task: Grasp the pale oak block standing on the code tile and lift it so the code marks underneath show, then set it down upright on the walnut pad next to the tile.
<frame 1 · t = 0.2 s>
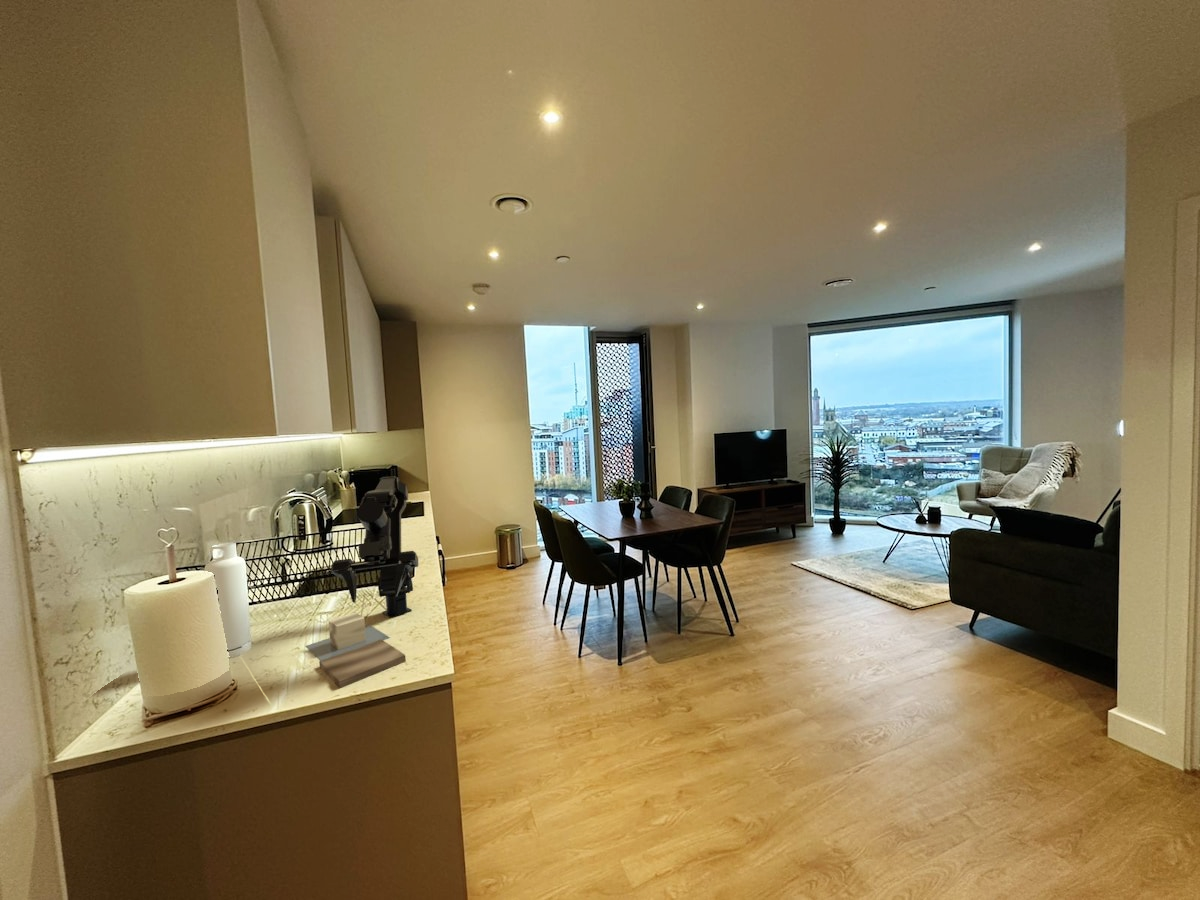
hand: (375, 599, 106), 15 cm above the counter, tool tilted 30°, fingers open, 9 cm apart
oak block: (348, 641, 116), resting on code tile
walnut pad: (362, 664, 104), on the counter
code tile: (348, 642, 116), on the counter
bottle: (231, 652, 114), on the counter
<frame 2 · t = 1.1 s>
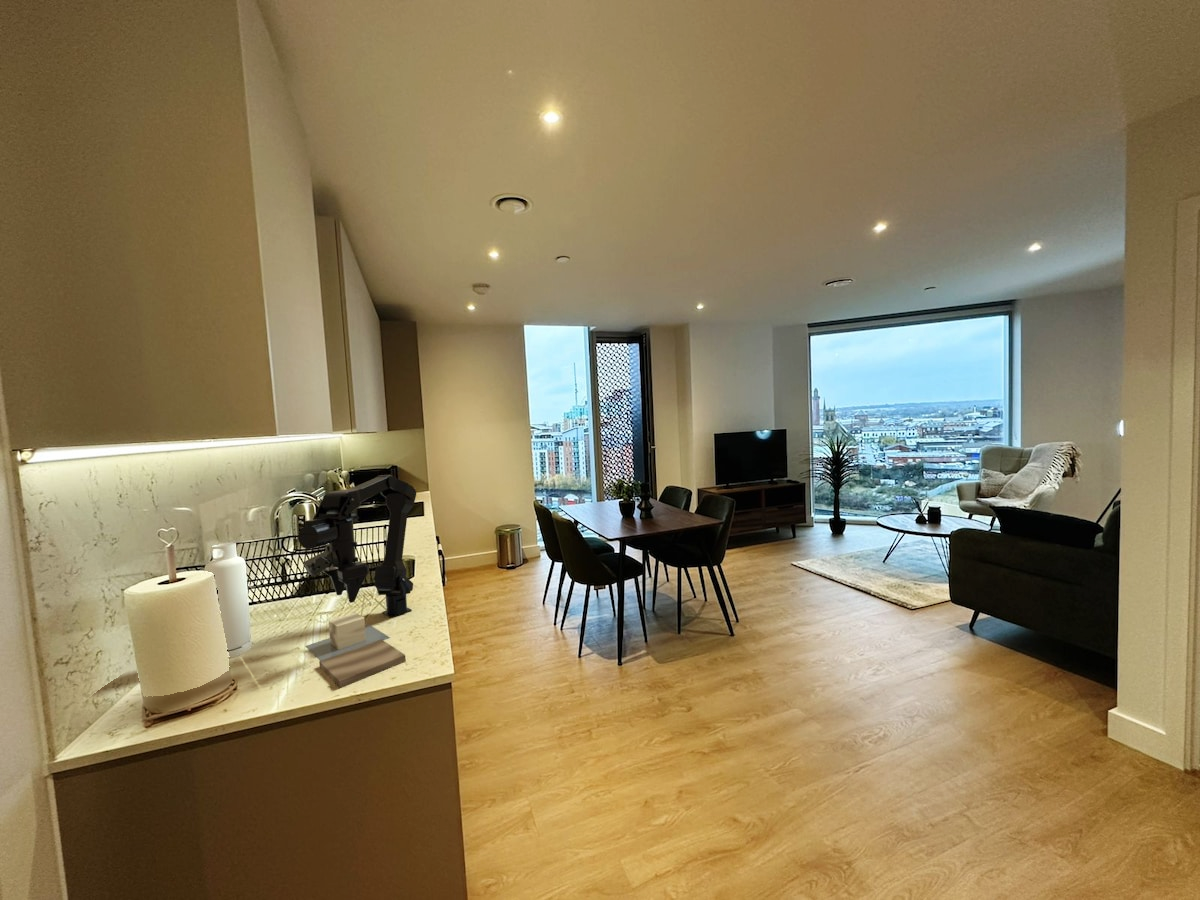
hand: (345, 598, 116), 12 cm above the counter, tool pointing down, fingers open, 9 cm apart
nothing on the counter moved.
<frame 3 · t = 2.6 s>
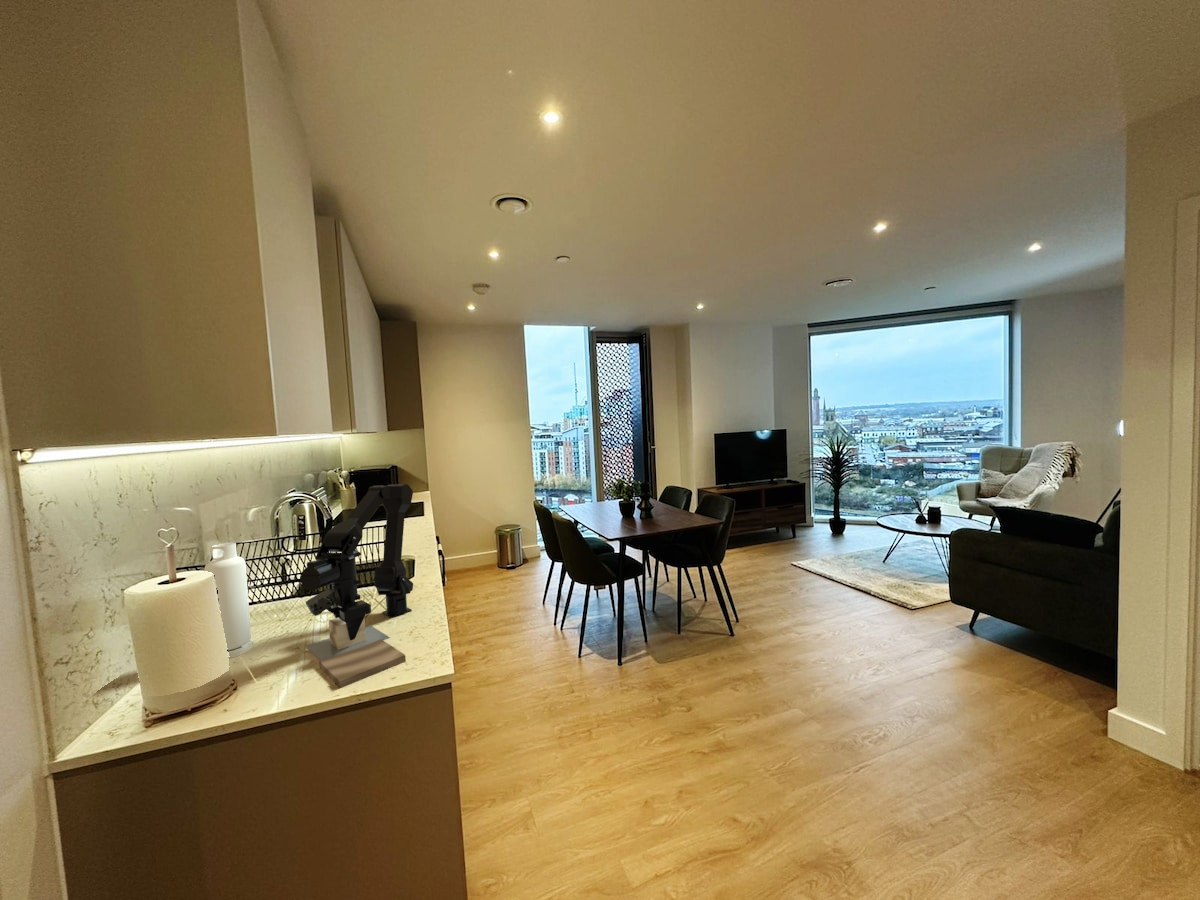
hand: (347, 636, 116), 2 cm above the counter, tool pointing down, fingers closed on oak block, 6 cm apart
oak block: (348, 641, 116), resting on code tile, touching gripper
everything else where it was.
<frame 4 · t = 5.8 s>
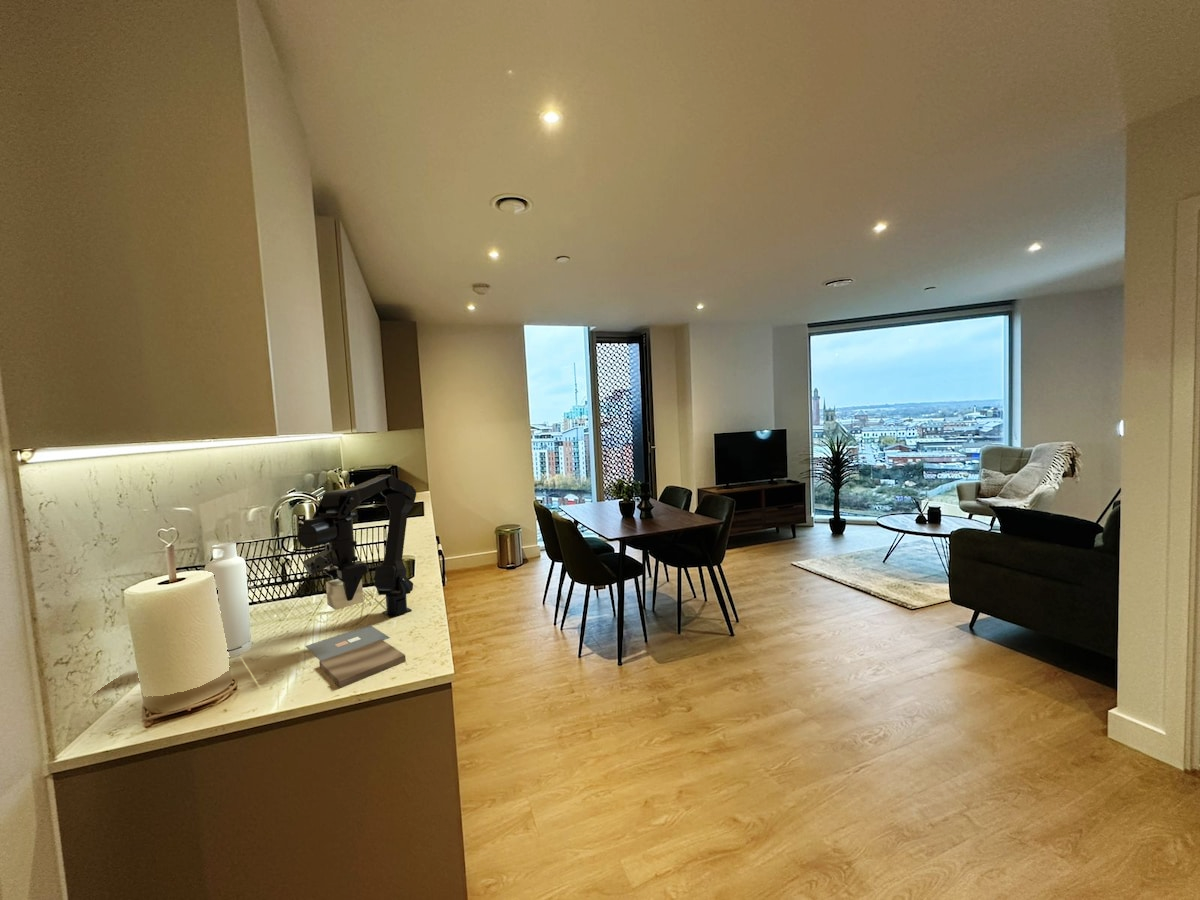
hand: (345, 597, 116), 12 cm above the counter, tool pointing down, fingers closed on oak block, 6 cm apart
oak block: (345, 603, 116), point 10 cm above the counter, touching gripper
everything else where it was.
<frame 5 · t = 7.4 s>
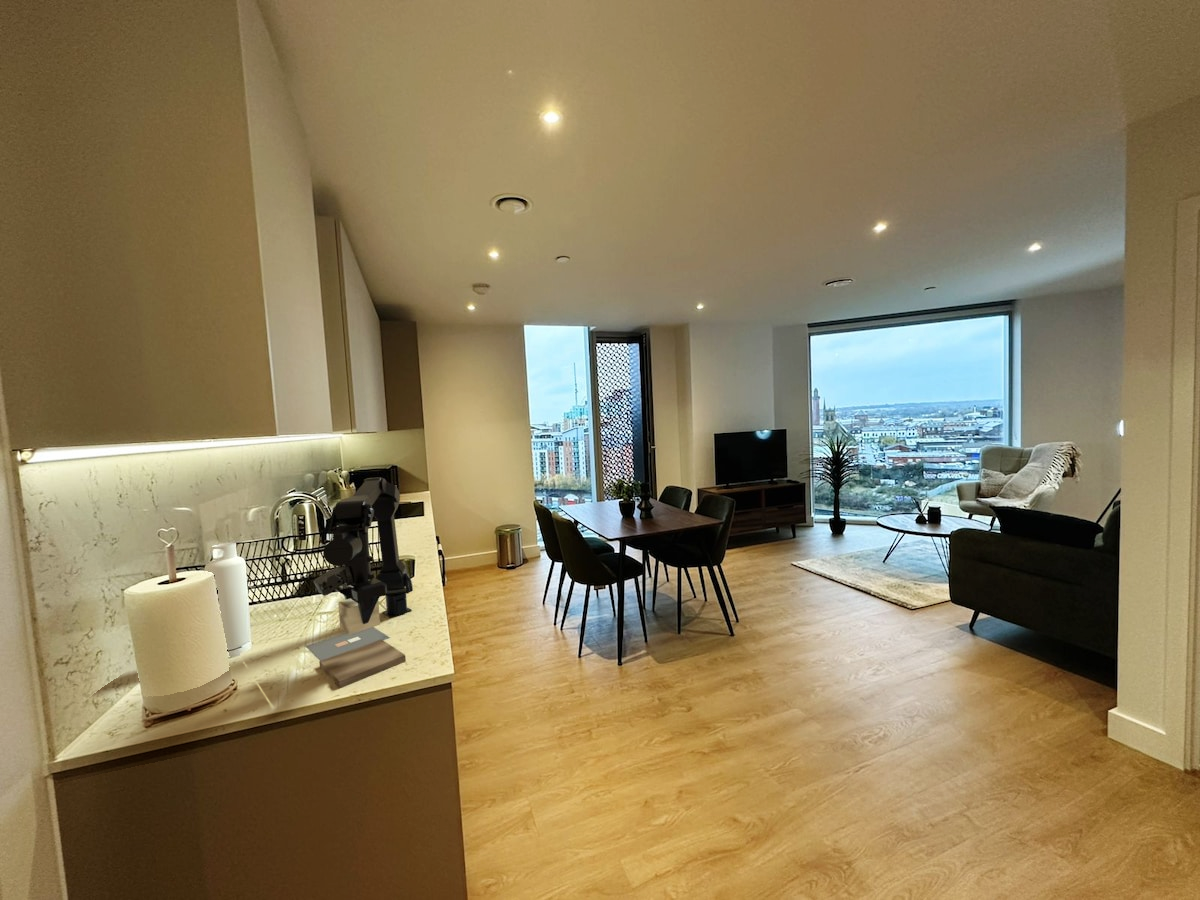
hand: (360, 619, 103), 11 cm above the counter, tool pointing down, fingers closed on oak block, 6 cm apart
oak block: (360, 625, 103), point 9 cm above the counter, touching gripper
everything else where it was.
when the fingers open (4 cm above the counter, at t = 8.9 s): oak block drops 2 cm, resting on walnut pad.
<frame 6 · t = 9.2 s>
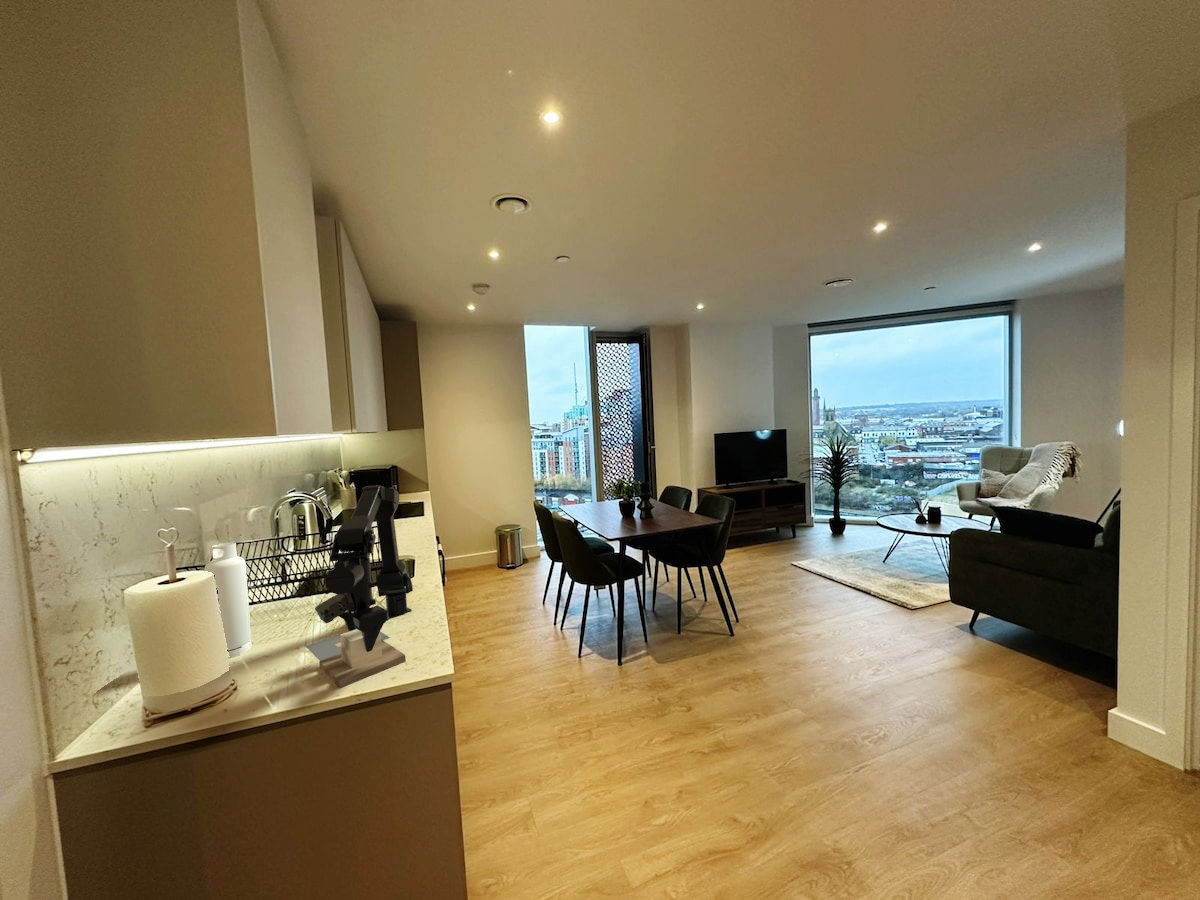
hand: (361, 645, 104), 4 cm above the counter, tool pointing down, fingers open, 9 cm apart
oak block: (362, 658, 104), point 1 cm above the counter, touching walnut pad
everything else where it was.
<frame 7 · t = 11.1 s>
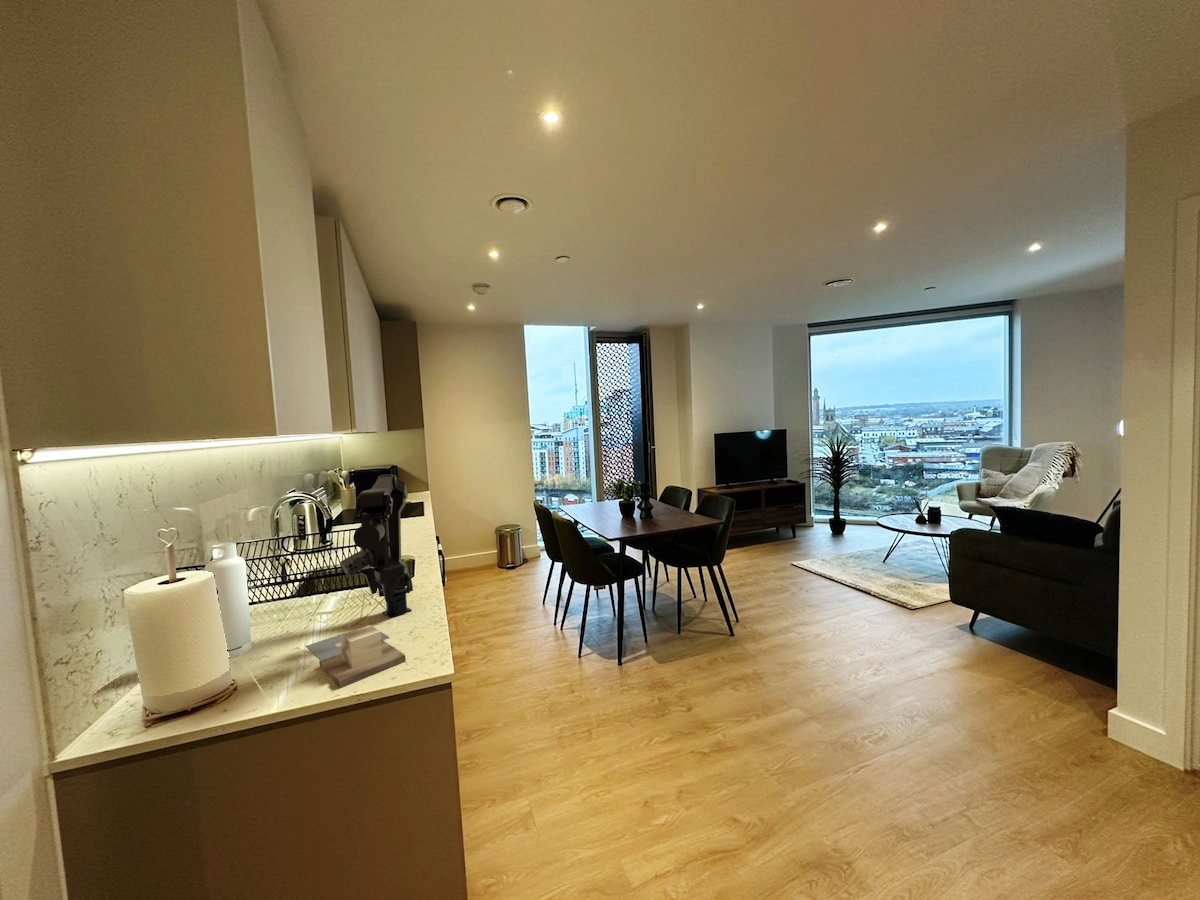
hand: (381, 597, 116), 11 cm above the counter, tool pointing down, fingers open, 9 cm apart
nothing on the counter moved.
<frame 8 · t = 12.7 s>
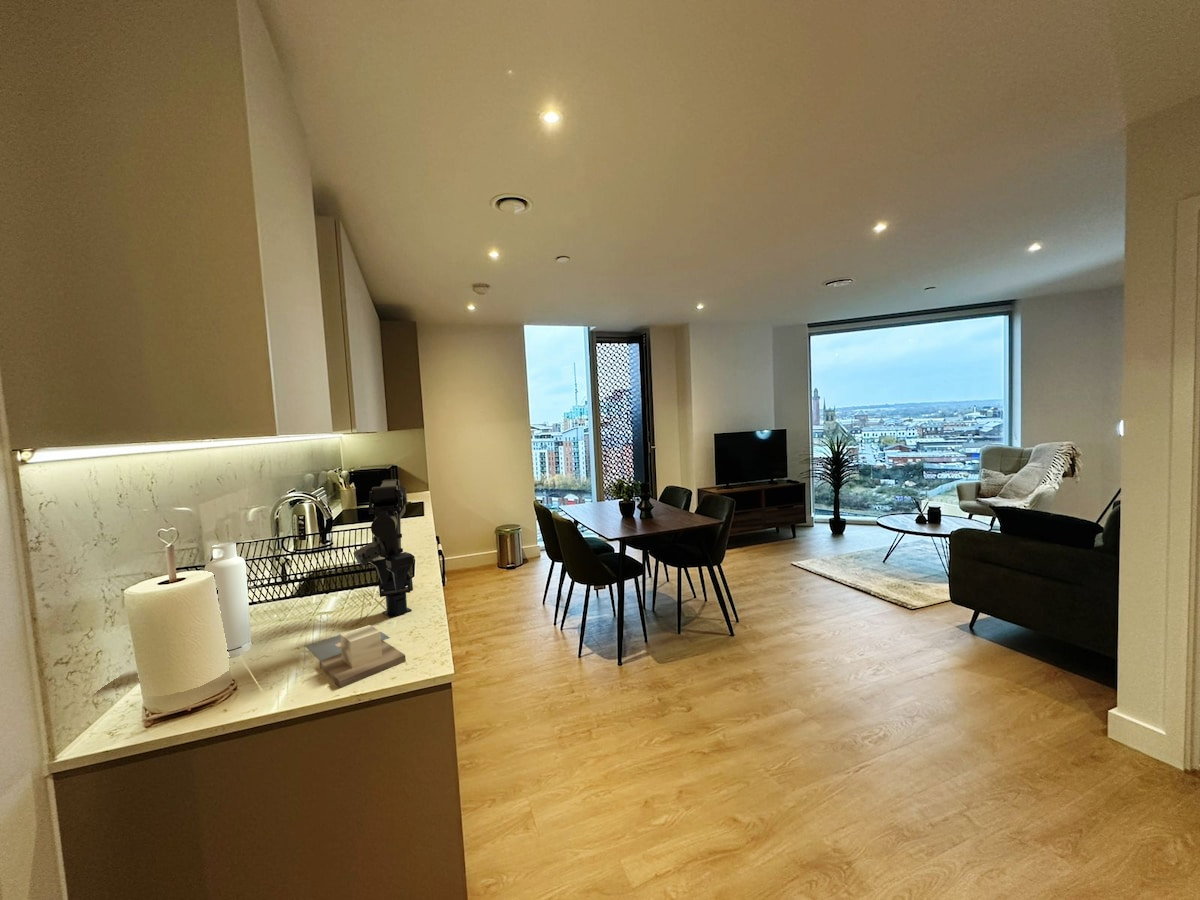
hand: (391, 587, 122), 12 cm above the counter, tool pointing down, fingers open, 9 cm apart
nothing on the counter moved.
at the end: oak block inside the target area on the walnut pad (0.1 cm from its centre), point 1.5 cm above the walnut pad's base; oak block tilted 0°; the gripper is holding nothing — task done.
